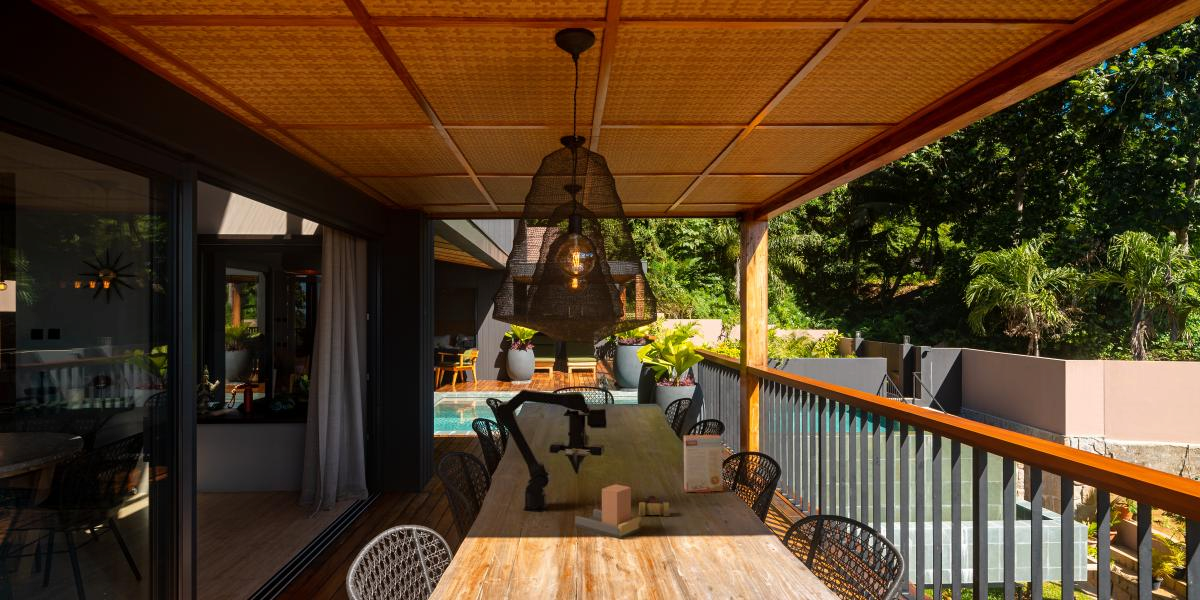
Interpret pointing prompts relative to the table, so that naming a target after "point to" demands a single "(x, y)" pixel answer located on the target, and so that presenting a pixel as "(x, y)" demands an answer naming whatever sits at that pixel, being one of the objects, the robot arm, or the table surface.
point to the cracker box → (703, 463)
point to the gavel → (654, 508)
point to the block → (616, 504)
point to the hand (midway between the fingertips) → (577, 473)
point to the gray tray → (608, 525)
